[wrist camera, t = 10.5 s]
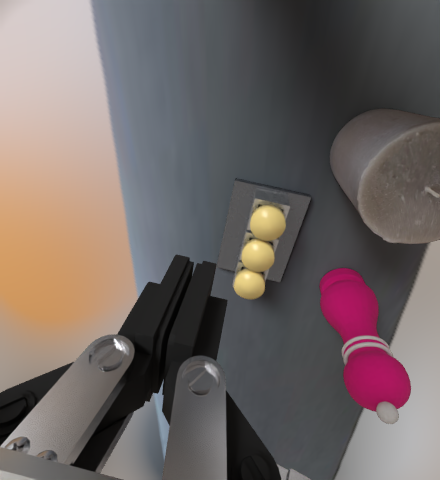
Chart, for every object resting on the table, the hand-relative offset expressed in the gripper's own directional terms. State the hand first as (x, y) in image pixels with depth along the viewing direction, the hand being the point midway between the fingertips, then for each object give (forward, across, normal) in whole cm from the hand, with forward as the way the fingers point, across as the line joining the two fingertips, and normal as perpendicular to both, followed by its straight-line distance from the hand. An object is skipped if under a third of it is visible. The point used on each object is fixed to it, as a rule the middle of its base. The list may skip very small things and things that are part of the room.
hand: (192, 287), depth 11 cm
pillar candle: (+28, -15, -2) cm, 31 cm away
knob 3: (+25, -5, +16) cm, 30 cm away
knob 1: (+26, -5, +7) cm, 27 cm away
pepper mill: (+27, -19, +17) cm, 37 cm away
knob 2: (+26, -5, +11) cm, 28 cm away
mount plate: (+27, -5, +11) cm, 30 cm away
